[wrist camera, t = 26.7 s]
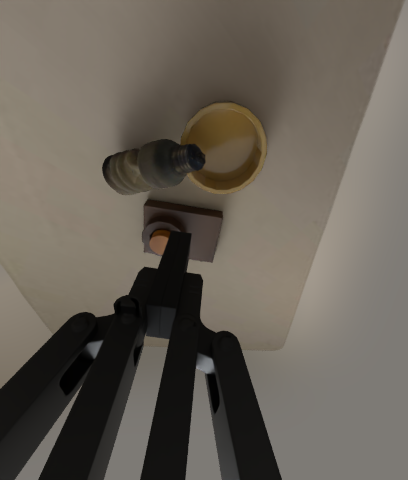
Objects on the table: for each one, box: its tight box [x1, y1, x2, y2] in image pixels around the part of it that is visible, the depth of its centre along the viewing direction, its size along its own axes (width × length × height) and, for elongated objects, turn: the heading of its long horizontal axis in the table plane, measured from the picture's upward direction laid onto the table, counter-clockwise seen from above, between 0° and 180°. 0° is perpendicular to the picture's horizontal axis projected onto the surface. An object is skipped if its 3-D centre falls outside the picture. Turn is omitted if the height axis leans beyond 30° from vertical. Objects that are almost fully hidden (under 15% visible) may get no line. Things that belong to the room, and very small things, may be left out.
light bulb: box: [102, 139, 206, 195], centre depth 26 cm, size 6×6×15 cm
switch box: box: [142, 199, 223, 263], centre depth 35 cm, size 12×9×4 cm
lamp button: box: [149, 229, 171, 255], centre depth 33 cm, size 4×4×2 cm
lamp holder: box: [180, 101, 267, 194], centre depth 27 cm, size 10×10×4 cm
